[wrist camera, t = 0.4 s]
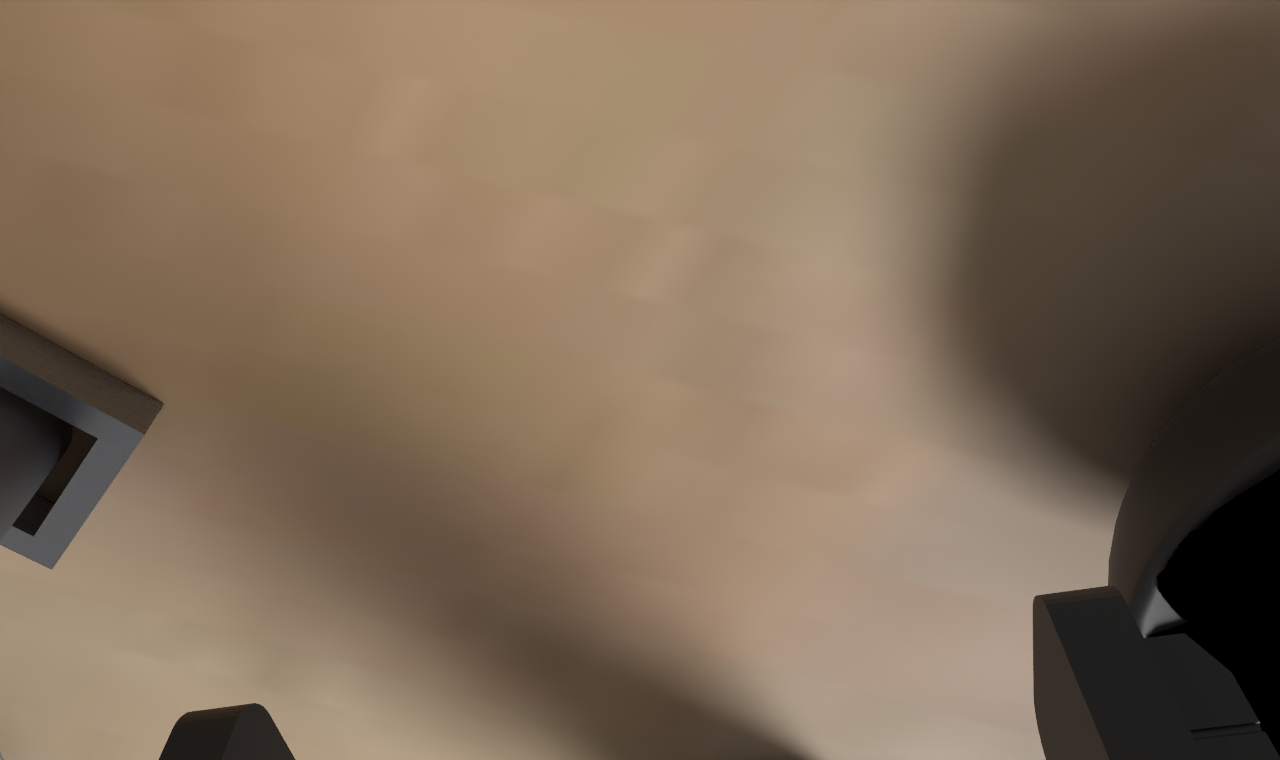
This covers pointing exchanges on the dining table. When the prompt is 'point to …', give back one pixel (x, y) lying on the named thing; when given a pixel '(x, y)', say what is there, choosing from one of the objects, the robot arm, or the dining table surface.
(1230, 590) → the bowl of black rocks
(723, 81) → the dining table surface
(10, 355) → the socket
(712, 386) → the dining table surface
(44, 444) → the plug
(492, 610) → the dining table surface
